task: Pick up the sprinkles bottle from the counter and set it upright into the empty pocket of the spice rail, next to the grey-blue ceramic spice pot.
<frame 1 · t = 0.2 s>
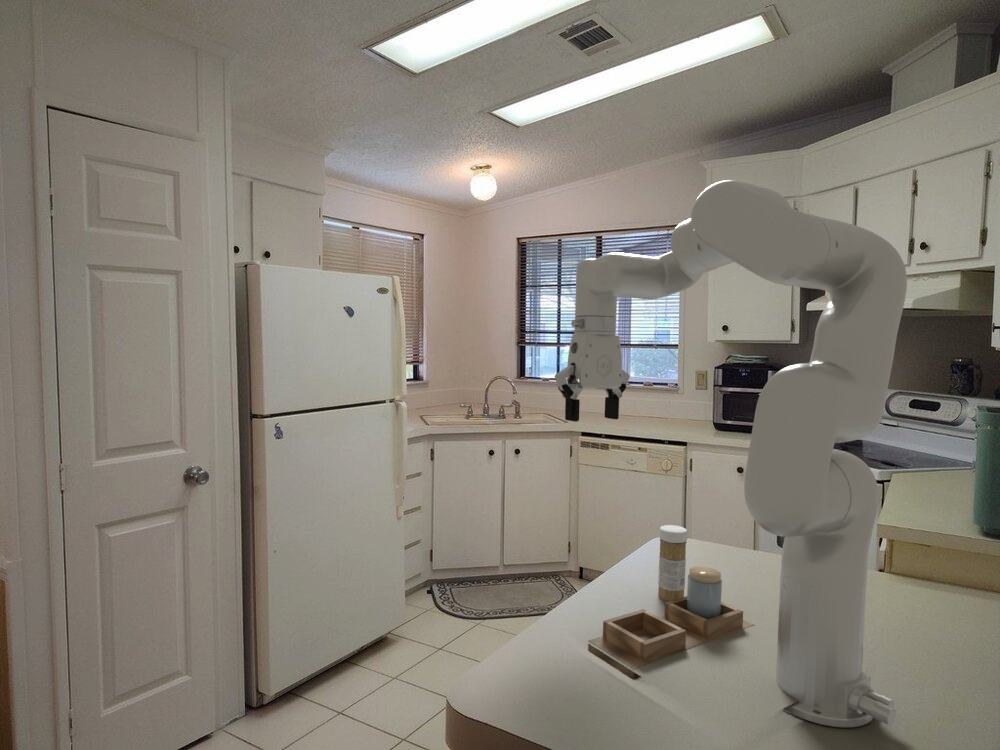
hand: (592, 419, 113), 31 cm above the kitchen counter, tool pointing down, fingers open, 9 cm apart
spice pot: (703, 622, 95), point 1 cm above the kitchen counter, touching spice rail
spice rail: (674, 642, 91), on the kitchen counter
sprinkles bottle: (670, 606, 105), on the kitchen counter
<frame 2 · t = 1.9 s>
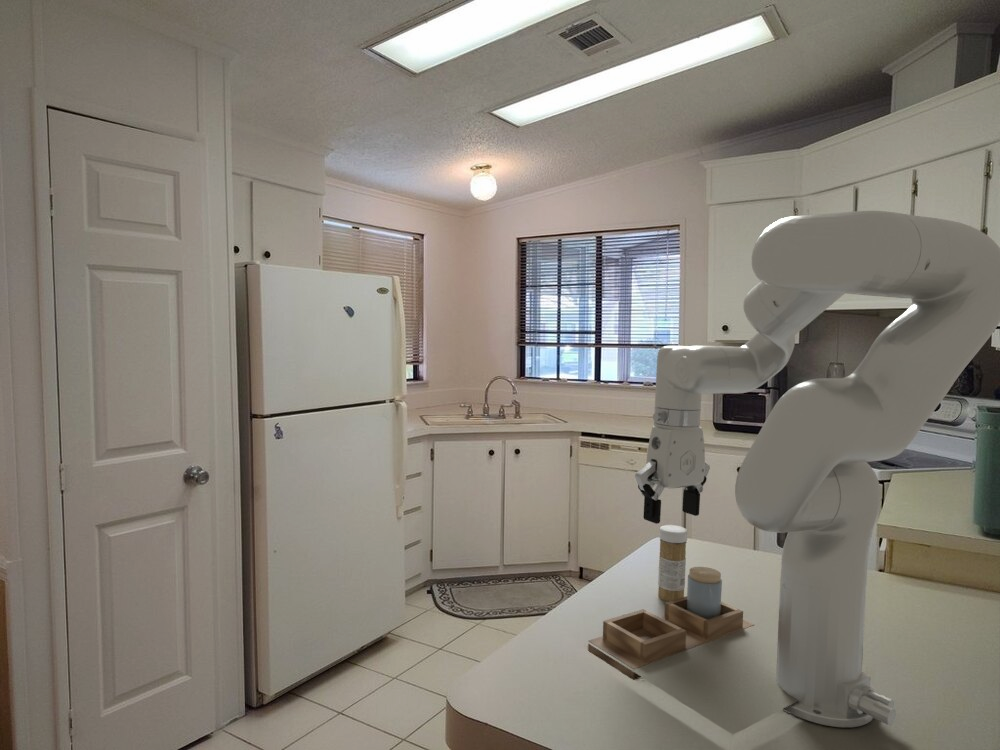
hand: (671, 517, 105), 15 cm above the kitchen counter, tool pointing down, fingers open, 9 cm apart
nothing on the kitchen counter moved.
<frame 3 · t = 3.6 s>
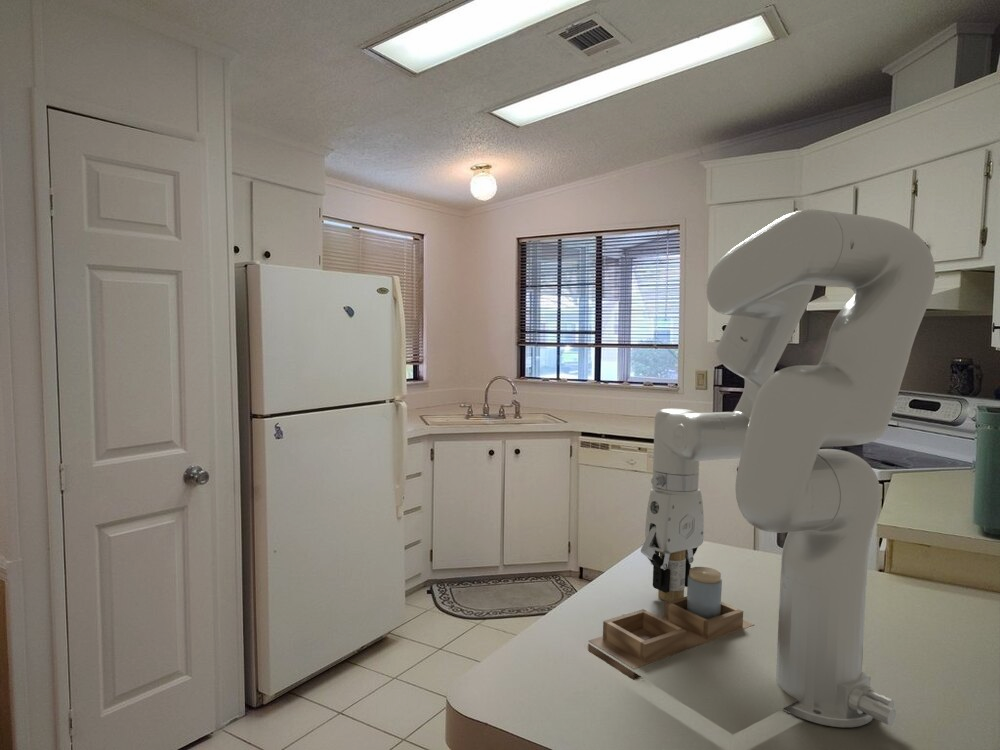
hand: (671, 585, 104), 3 cm above the kitchen counter, tool pointing down, fingers closed on sprinkles bottle, 4 cm apart
sprinkles bottle: (670, 606, 105), on the kitchen counter, touching gripper
everything else where it was.
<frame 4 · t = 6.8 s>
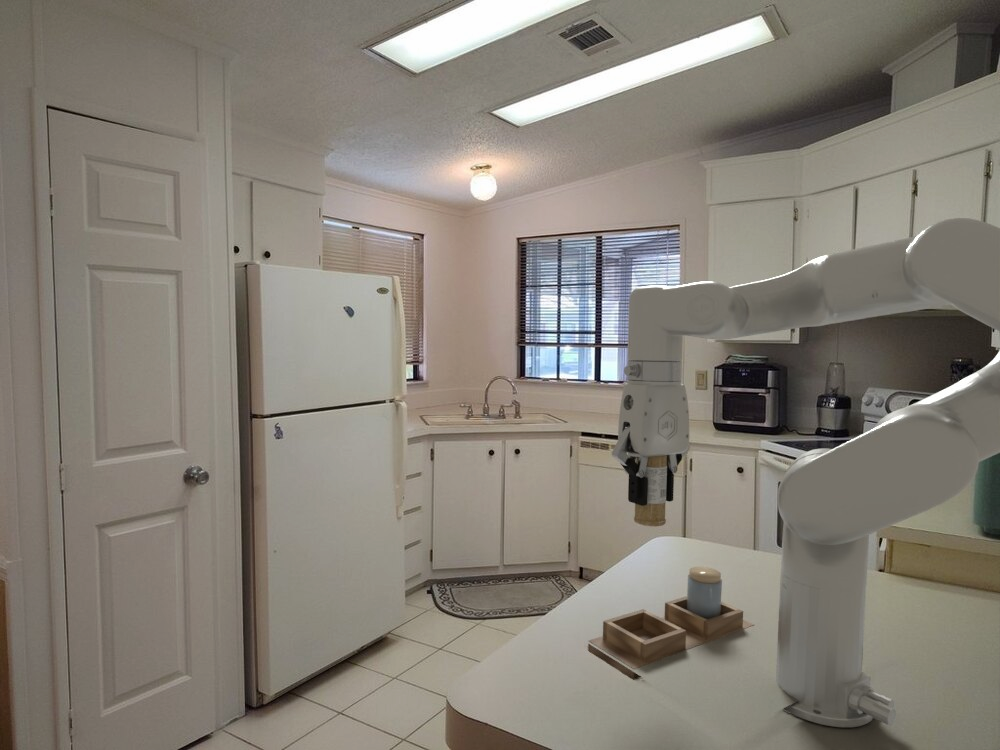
hand: (650, 500, 87), 22 cm above the kitchen counter, tool pointing down, fingers closed on sprinkles bottle, 4 cm apart
sprinkles bottle: (649, 524, 87), point 19 cm above the kitchen counter, touching gripper
everything else where it was.
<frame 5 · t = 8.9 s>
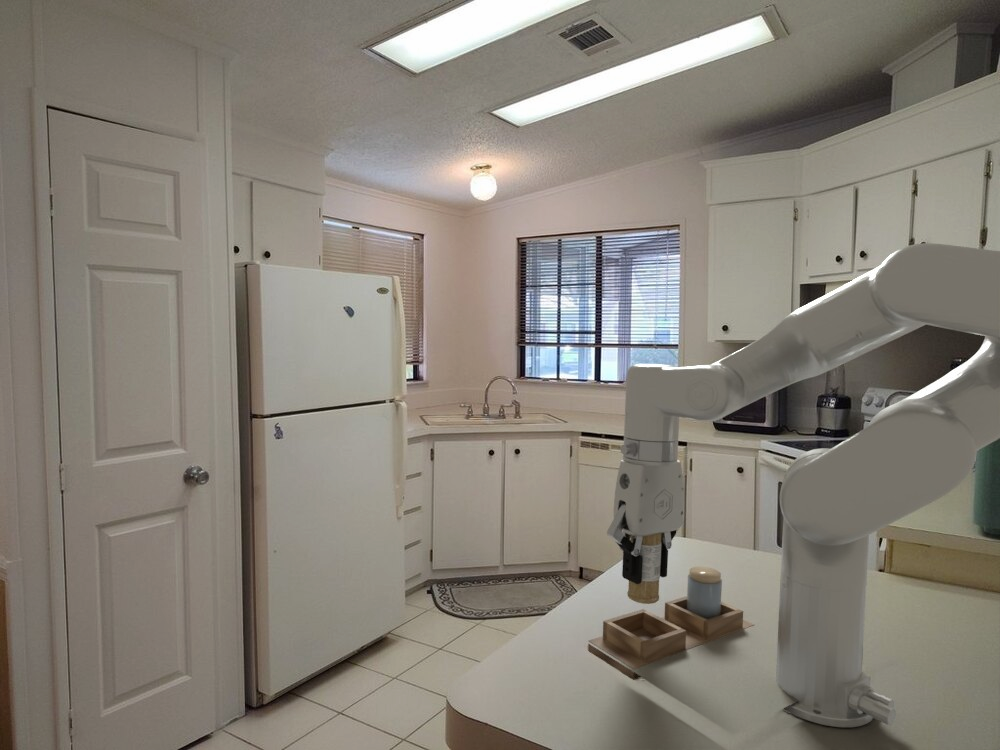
hand: (644, 576, 87), 11 cm above the kitchen counter, tool pointing down, fingers closed on sprinkles bottle, 4 cm apart
sprinkles bottle: (642, 600, 88), point 8 cm above the kitchen counter, touching gripper
everything else where it was.
when the fingers open (6 cm above the kitchen counter, at t = 10.3 s): sprinkles bottle drops 1 cm, resting on spice rail.
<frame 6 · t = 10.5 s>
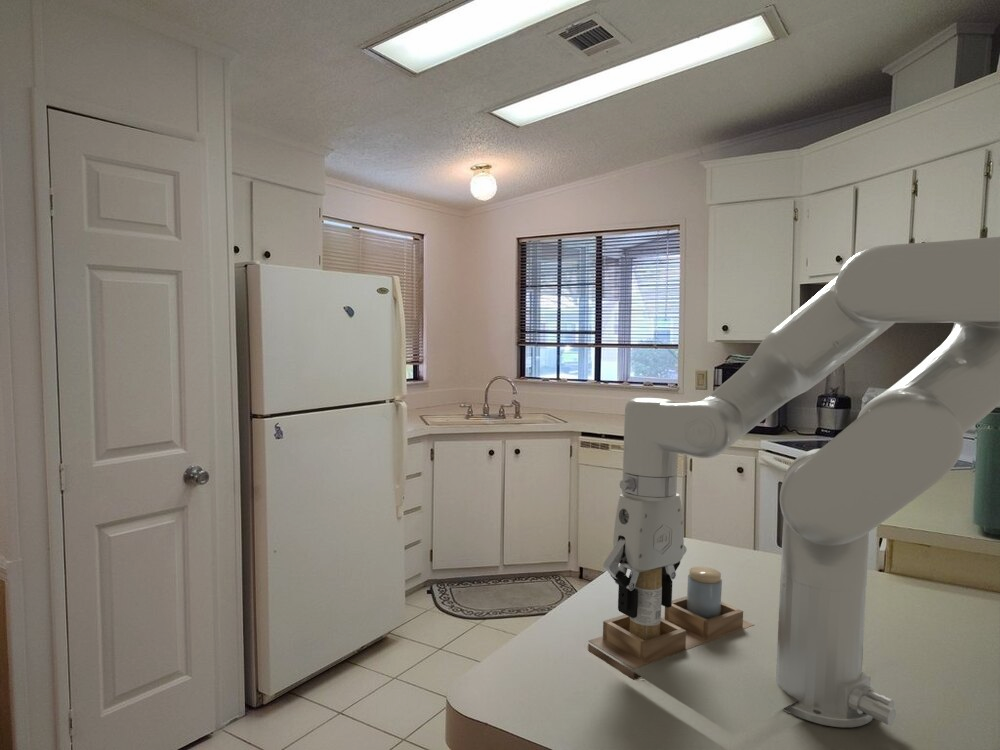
hand: (644, 607, 87), 7 cm above the kitchen counter, tool pointing down, fingers open, 6 cm apart
sprinkles bottle: (644, 643, 88), point 1 cm above the kitchen counter, touching spice rail
everything else where it was.
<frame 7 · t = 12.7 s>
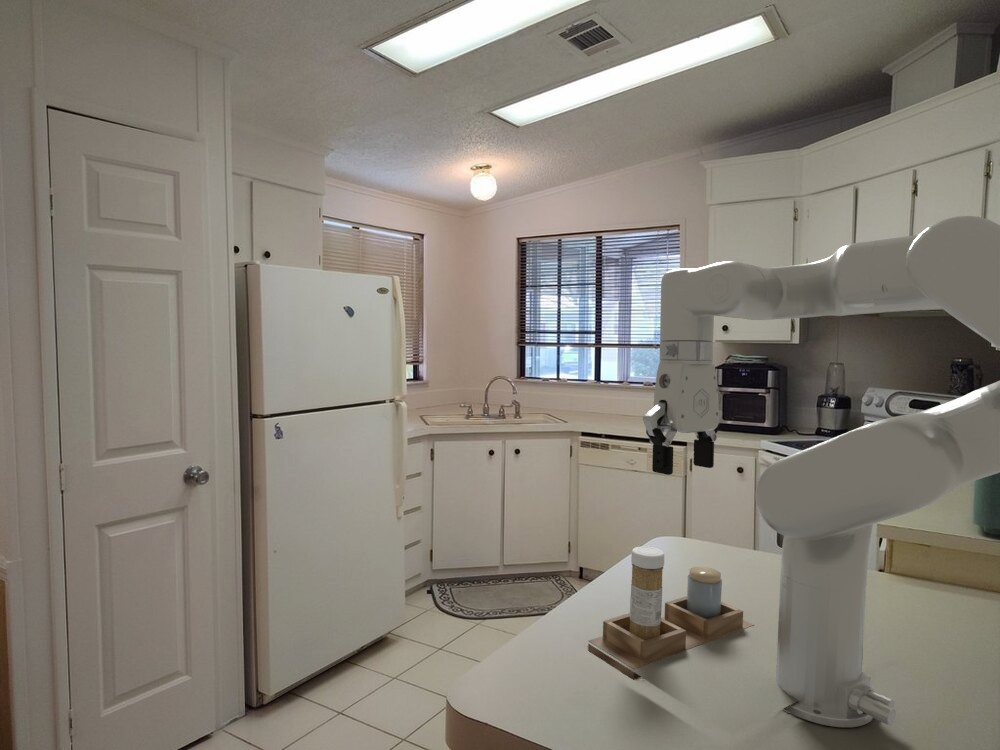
hand: (683, 469, 90), 26 cm above the kitchen counter, tool pointing down, fingers open, 9 cm apart
nothing on the kitchen counter moved.
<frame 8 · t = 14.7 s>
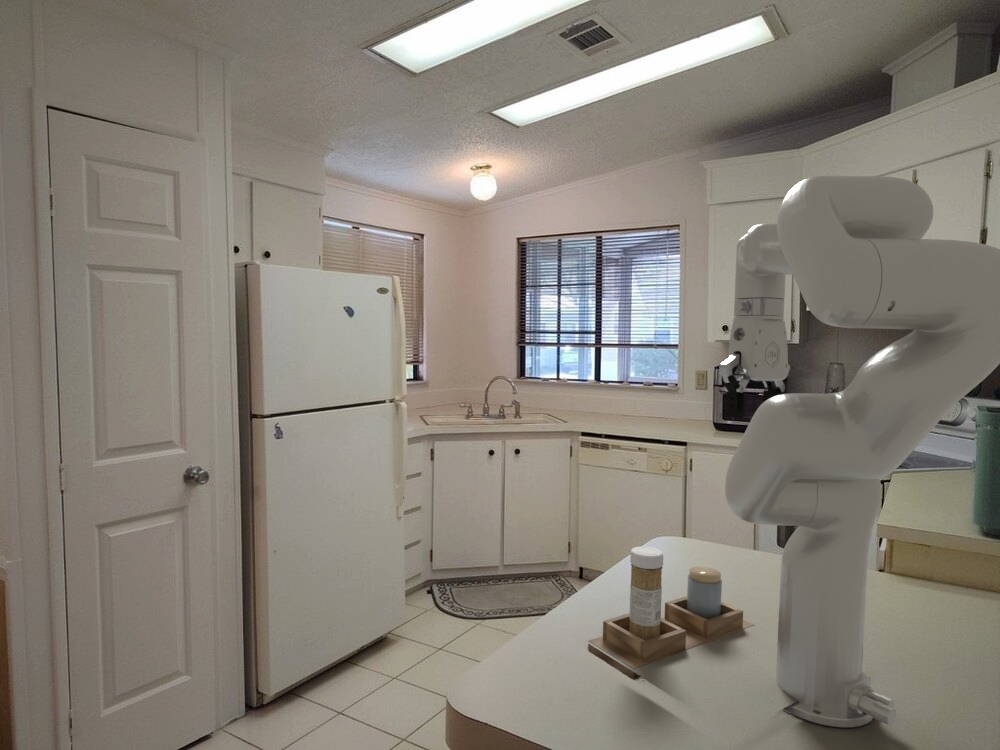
hand: (754, 415, 100), 33 cm above the kitchen counter, tool pointing down, fingers open, 9 cm apart
nothing on the kitchen counter moved.
at the end: sprinkles bottle 0.1 cm from the target spot on the spice rail, point 1.3 cm above the spice rail's base; sprinkles bottle tilted 0°; the gripper is holding nothing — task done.
